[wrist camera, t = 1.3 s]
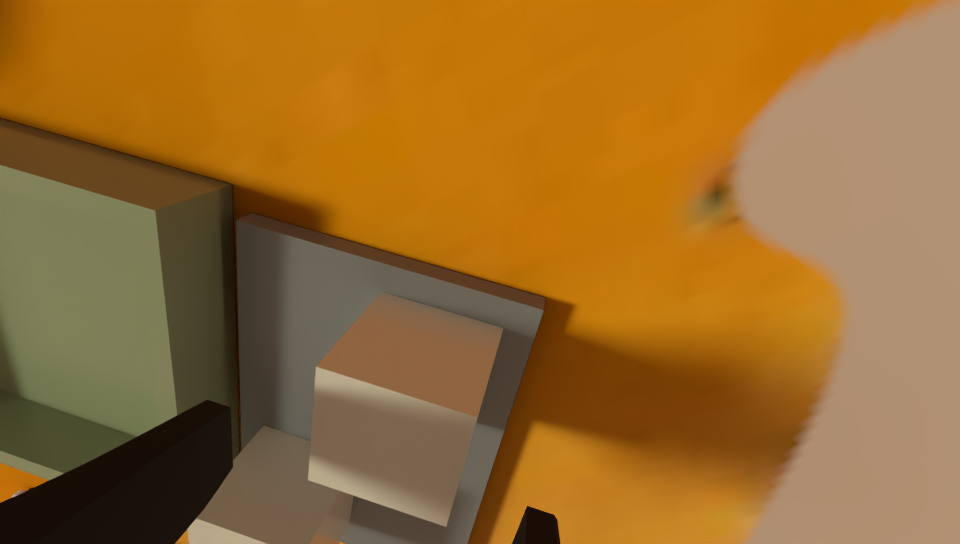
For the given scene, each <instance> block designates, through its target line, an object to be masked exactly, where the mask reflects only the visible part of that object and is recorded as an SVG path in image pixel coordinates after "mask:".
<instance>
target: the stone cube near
mask: <svg viewBox="0 0 960 544" xmlns="http://www.w3.org/2000/svg"><path fill="white" fill-rule="evenodd" d="M502 332H503V328H502V327H498V326H495V325H491V324H488V323H485V322H481V321H478V320H475V319H471V318H468V317H465V316H461V315H458V314H454V313H451V312H448V311H444V310H441V309H438V308H434V307H431V306H428V305H424V304H421V303H417V302H414V301H411V300H407V299H404V298H401V297H397V296H394V295H391V294H387V293H384V292H381V293H380V294H379V295H378V296H377V297H376V299H375V300H374V301H373V302H372V303H371V304H370V305H369V307H368V308H367V309H366V310H365V311H364V312H363V313H362V315H361V316H360V317H359V318H358V319H357V320H356V321H355V322H354V324H353V325H352V326H351V327H350V328H349V329H348V330H347V332H346V333H345V334H344V335H343V336H342V337H341V338H340V340H339V341H338V342H337V343H336V344H335V345H334V346H333V348H332V349H331V350H330V351H329V352H328V353H327V354H326V356H325V357H324V358H323V359H322V360H321V361H320V362H319V364H318V365H317V366H316V372H315V387H314V401H313V416H312V430H311V444H310V459H309V473H308V480H309V481H312V482H315V483H318V484H321V485H324V486H327V487H330V488H333V489H336V490H339V491H342V492H345V493H348V494H351V495H354V496H356V497H359V498H362V499H365V500H368V501H371V502H374V503H377V504H380V505H383V506H386V507H389V508H392V509H395V510H398V511H401V512H404V513H407V514H410V515H413V516H415V517H418V518H421V519H424V520H427V521H430V522H433V523H436V524H439V525H442V526H445V527H446V526H447V523H448V519H449V516H450V512H451V509H452V505H453V502H454V498H455V495H456V491H457V488H458V485H459V481H460V478H461V474H462V471H463V467H464V464H465V460H466V457H467V453H468V450H469V446H470V443H471V440H472V436H473V433H474V429H475V426H476V422H477V419H478V415H479V412H480V408H481V405H482V401H483V398H484V394H485V391H486V387H487V384H488V380H489V377H490V374H491V370H492V367H493V363H494V360H495V356H496V353H497V349H498V346H499V342H500V339H501V335H502Z"/></svg>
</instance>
